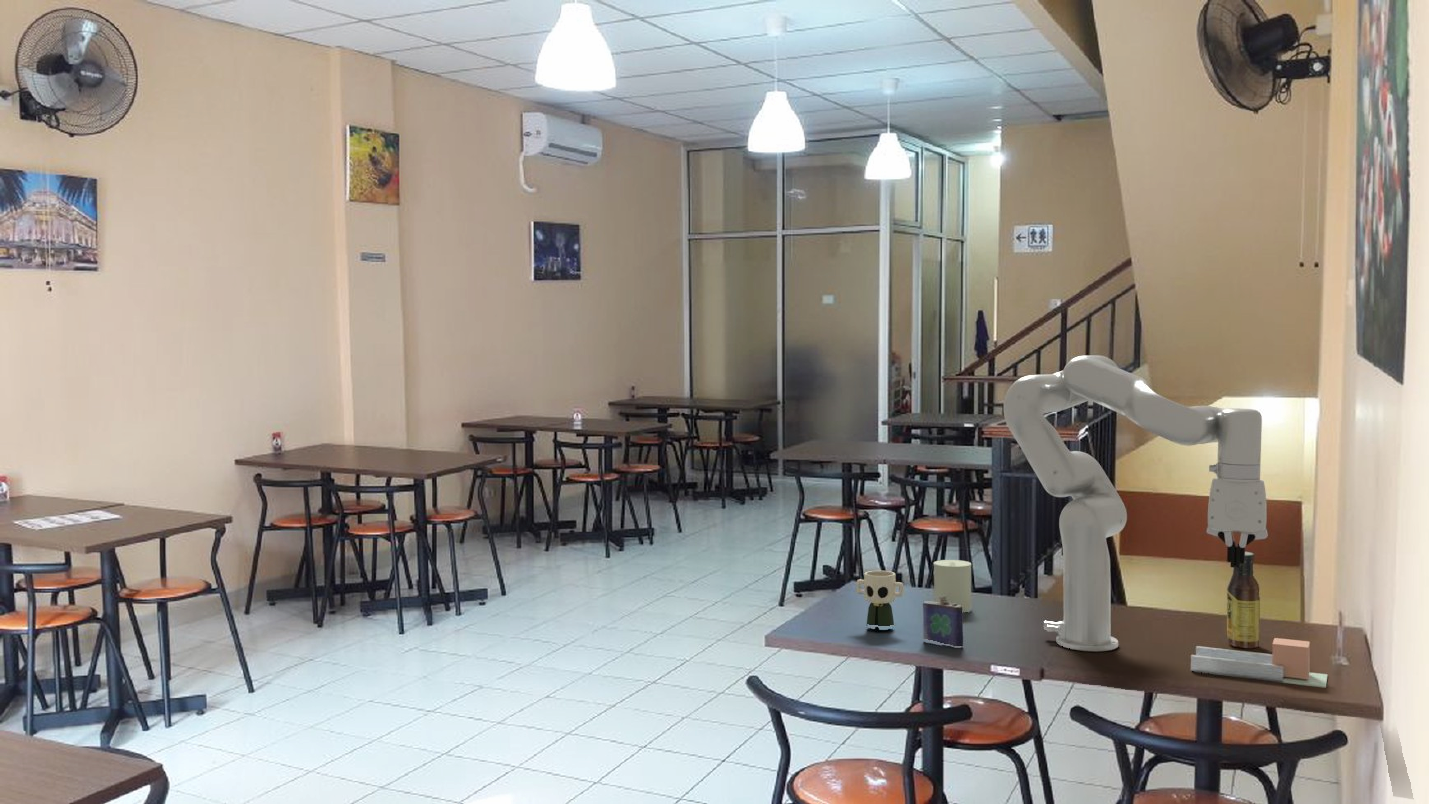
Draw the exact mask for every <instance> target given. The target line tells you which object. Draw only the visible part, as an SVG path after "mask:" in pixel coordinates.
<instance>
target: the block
mask: <svg viewBox="0 0 1429 804" xmlns="http://www.w3.org/2000/svg"><path fill="white" fill-rule="evenodd" d="M1310 643H1311V642H1310V641H1308V640H1300V639H1299V640H1298V639H1288V638H1279V637H1274V639H1273V641H1272V653H1271V654H1272V664H1277V665H1284V677H1292V678H1301V679H1309V673H1310V671H1311V670H1310V668H1311V667H1310V665H1311V663H1310V661H1311V659H1310V655H1311V654H1310V653H1311V649H1310V647H1311V645H1310Z"/></svg>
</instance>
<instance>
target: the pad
mask: <svg viewBox="0 0 1429 804" xmlns="http://www.w3.org/2000/svg"><path fill="white" fill-rule="evenodd" d="M1327 680H1328V674H1326V673H1320V672H1319V673H1318V672H1310V673H1309V679H1301V678H1292V677H1284V680H1283V684H1291V685H1292V684H1293V685H1300V686H1307V687H1317V688H1322V689H1326V688H1327V682H1328V681H1327Z"/></svg>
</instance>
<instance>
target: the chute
mask: <svg viewBox="0 0 1429 804" xmlns="http://www.w3.org/2000/svg"><path fill="white" fill-rule="evenodd" d="M1192 671H1194V672H1193V673H1200V674H1208V673H1209V674H1211V675H1216V676H1217V675H1218V676H1225V677H1235V678H1240V679H1241V678H1242V679H1250V680H1259V681H1266V682H1267V681H1268V682H1274V683H1283V680H1284V665H1277V664H1272V653H1271V654H1270V653H1263V652H1255V651H1246V650H1236V649H1227V648H1226V649H1225V648H1218V647H1217V648H1216V647H1209V646H1201V645H1196V646H1195V654H1191V655H1190V672H1192ZM1201 672H1202V673H1201ZM1209 674H1208V675H1209ZM1283 684H1284V683H1283Z"/></svg>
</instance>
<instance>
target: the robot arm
mask: <svg viewBox="0 0 1429 804" xmlns="http://www.w3.org/2000/svg"><path fill="white" fill-rule="evenodd" d="M1089 401H1091V402H1093V403H1096V404H1097V405H1100V406H1102V407H1104V408H1106V409H1109V410H1111V411H1114V412H1115V413H1118V414H1120V415H1122V416H1124V417H1126V418H1127V420H1129V421H1131V422H1133V424H1136V425H1137V426H1138V427H1140V428H1141V429H1144V430H1145V431H1148V432H1149V433H1151V434H1154V435H1156V436H1159V437H1160V438H1162V439H1165V440H1167V441H1169V442H1172V443H1174V444H1178V445H1181V446H1186V447H1187V446H1188V447H1190V446H1192V447H1193V446H1196V445H1205V444H1210V443H1211V444H1212V443H1217V463H1215V464H1213V465H1212V464H1209V466H1208V472H1209V473H1214V474H1215V475H1216V477H1213V478H1212V480H1211V484H1210V488H1209V496H1208V497H1209V498H1208V506H1207V507H1208V509H1207V528H1206V534H1208V535H1212V536H1213V537H1218V538H1219V539H1220V540H1221V541H1222V542H1223V543H1224V544H1225V546H1226V547H1227V550H1226V551H1227V554H1226V561H1227V563H1230V568H1233V569H1234V567H1235V566H1236V567H1237V568H1240V567H1241V563H1245V552H1246V547H1247V546H1248V545H1249V544H1250V543H1252V542H1253V541H1257V540H1258V541H1259V540H1265V539H1267V538H1268V536H1269V534H1268V530H1267V523H1268V522H1267V520H1268V516H1267V514H1268V509H1267V493H1266V487H1265V481H1264V480H1261V459H1262V458H1261V457H1262V431H1263V430H1262V426H1263V418H1262V417H1263V416H1262V414H1261V412H1260V411H1258V410H1256V409H1253V408H1252V409H1251V408H1224V407H1223V408H1222V407H1216V406H1210V405H1193V406H1186V405H1183V404H1181V403H1178V402H1176V401H1173V400H1172V399H1169V398H1167V397H1164V396H1162V395H1160V394H1158V393H1156V392H1155V391H1153V390H1152V389H1151V388H1150V387H1149V383H1148V382H1147V380H1145V378H1144V377H1141V376H1139V375H1136V374H1134V373H1132V372H1129V371H1127V370H1124V369H1121V368H1119V367H1118V365H1117V364H1116V362H1115V361H1113V359H1111V358H1109V357H1107V356H1104V355H1098V354H1097V355H1089V354H1088V355H1079V356H1075V357H1073V358H1072V359H1071V360H1069V361H1068V362H1067V363H1066V365H1064V368H1063V370H1061V371H1057V372H1055V373H1052V374H1051V373H1050V374H1049V373H1048V374H1029V375H1025V376H1022V377H1020V378H1019V379H1017V380H1015V381H1014V382H1013V383H1012V384H1011V385H1010V387H1008V389H1007V392H1006V394H1005V397H1004V401H1003V416H1004V420H1005V424H1006V425H1007V427H1008V430H1009V432H1010V433H1011V435H1012V436H1013V438H1014V439H1015V441H1016V442H1017V445H1019V447H1020V449H1021V451H1022V452H1023V455H1024V457H1025V458H1026V459H1027V461H1028V463H1029V465H1030V467H1031V468H1032V470H1033V472H1034V473H1035V475H1036V476H1037V479H1038V480H1039V482H1040V483H1041V485H1042V487H1043V489H1044V490H1045V491H1046V493H1048V494H1049V495H1050V496H1053V497H1056V498H1066V497H1071V498H1072V500H1071V501H1069V502H1068V503H1067V504H1066V505H1065V506H1064V507H1063V509H1062V510H1061V513H1060V515H1059V522H1058V525H1059V526H1058V527H1059V533H1060V539H1061V544H1062V545H1061V546H1062V547H1061V548H1062V561H1063V563H1062V564H1063V566H1062V568H1063V620H1062V621H1061V620H1060V621H1058V622H1055V621H1050V620H1044V621H1043V629H1044V631H1045V630H1046V632H1048V633H1057V634H1058V635H1057V636H1056V637H1055V639H1056V640H1055V641H1056V644H1057V645H1059V646H1060V647H1062V646H1063V648H1066V649H1069V648H1070V650H1074V651H1075V650H1076V651H1082V652H1107V651H1112V650H1115V649H1117V648H1118V647H1119V640H1118V639H1117V638H1115V637H1114V636H1111V632H1112V631H1111V623H1112V622H1111V621H1112V620H1111V617H1112V616H1111V599H1112V598H1111V593H1112V592H1111V589H1112V588H1111V557H1110V551H1109V548H1108V547H1109V546H1108V543H1107V538H1109V537H1113V536H1115V535H1117V534H1119V533H1121V532H1122V531H1123V529H1124V528H1125V526H1126V524H1127V520H1128V513H1127V508H1126V506H1125V504H1124V502H1123V499H1122V498H1121V497H1120V495H1119V493H1118V492H1117V490H1116V488H1115V486H1114V485H1113V483H1112V482H1111V480H1110V479H1109V477H1108V475H1107V474H1106V472H1105V470H1104V469H1103V467H1102V466H1101V465H1100V463H1099V462H1098V460H1096V459H1095V458H1094V457H1093V456H1092V455H1090V454H1089V453H1086V452H1084V451H1079V450H1077V451H1076V450H1073V451H1070V449H1068V446H1067V445H1066V444H1065V442H1064V441H1063V439H1062V437H1061V435H1060V433H1059V432H1058V431H1057V429H1056V428H1055V427H1054V426H1053V425H1052V424H1051V423H1050V422H1049V421H1048V419H1047V418H1046V417H1045V416H1044V413H1045V414H1046V413H1056V412H1059V411H1060V412H1061V411H1064V410H1067V409H1070V408H1073V407H1075V406H1078V405H1081V404H1083V403H1086V402H1089ZM1234 533H1240V537H1239V542H1238V543H1237V545H1236V542H1235V539H1234Z"/></svg>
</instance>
